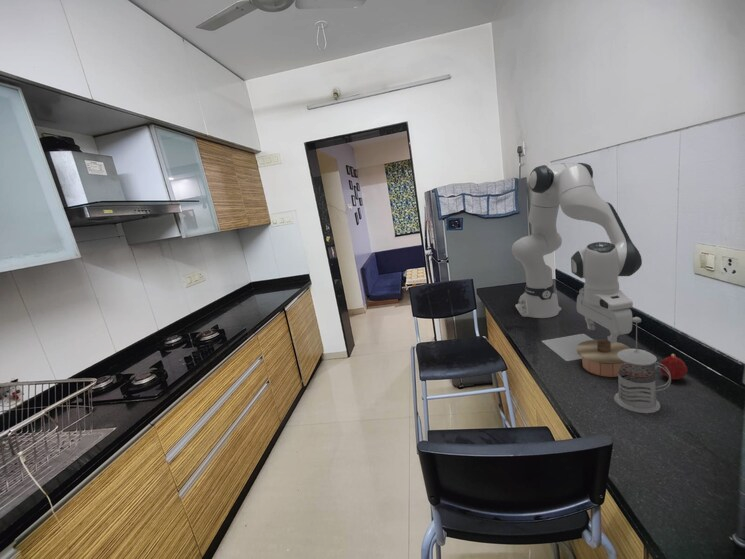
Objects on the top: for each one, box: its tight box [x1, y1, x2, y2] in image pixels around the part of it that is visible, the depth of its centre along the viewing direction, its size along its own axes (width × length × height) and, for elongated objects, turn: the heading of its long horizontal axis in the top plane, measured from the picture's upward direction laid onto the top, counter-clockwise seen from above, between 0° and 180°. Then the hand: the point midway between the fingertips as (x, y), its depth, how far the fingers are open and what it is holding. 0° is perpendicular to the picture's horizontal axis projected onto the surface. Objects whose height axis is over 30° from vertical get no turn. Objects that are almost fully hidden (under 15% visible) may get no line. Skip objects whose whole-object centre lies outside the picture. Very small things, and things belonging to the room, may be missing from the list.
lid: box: [576, 338, 632, 364], centre depth 101 cm, size 15×15×4 cm
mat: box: [541, 333, 595, 362], centre depth 118 cm, size 17×17×1 cm
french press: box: [613, 316, 672, 414], centre depth 83 cm, size 10×12×25 cm
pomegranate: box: [659, 353, 688, 380], centre depth 91 cm, size 6×6×8 cm
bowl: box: [581, 357, 628, 378], centre depth 102 cm, size 12×12×6 cm
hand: (601, 335), depth 101 cm, fingers open, 8 cm apart
